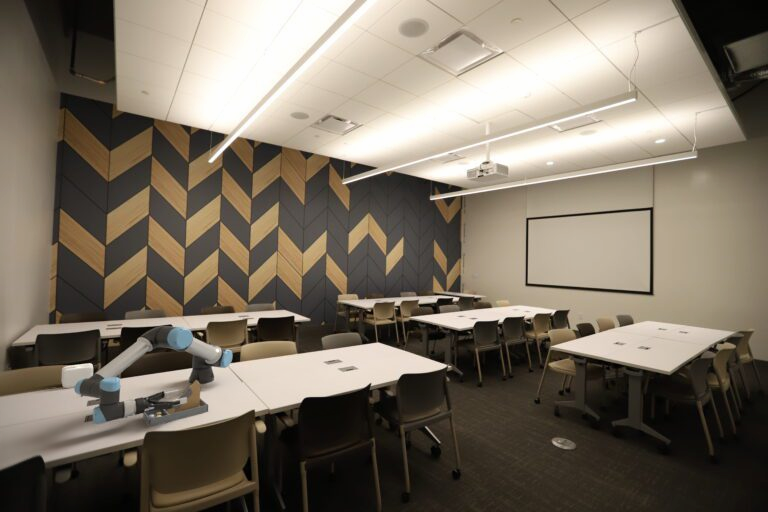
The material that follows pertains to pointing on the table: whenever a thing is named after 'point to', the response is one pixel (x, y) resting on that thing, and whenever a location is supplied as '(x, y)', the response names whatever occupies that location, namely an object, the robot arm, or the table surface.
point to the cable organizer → (75, 374)
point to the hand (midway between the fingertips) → (182, 396)
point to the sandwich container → (188, 399)
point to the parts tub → (163, 416)
